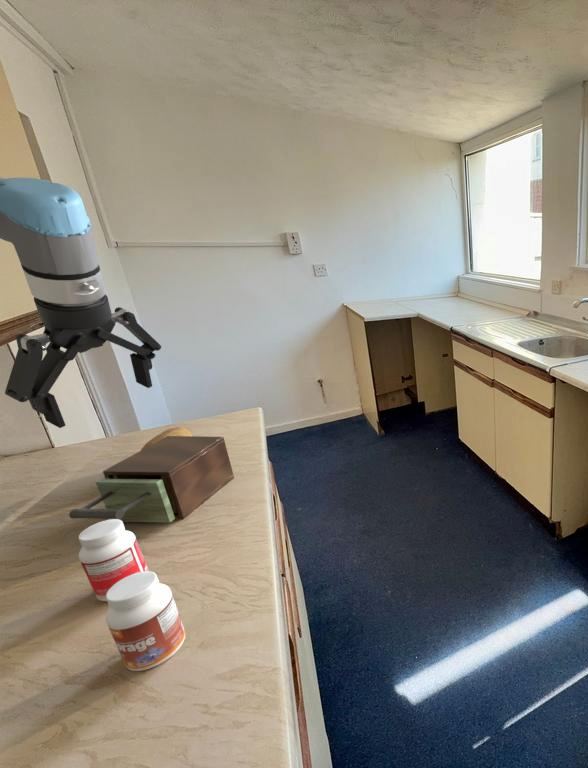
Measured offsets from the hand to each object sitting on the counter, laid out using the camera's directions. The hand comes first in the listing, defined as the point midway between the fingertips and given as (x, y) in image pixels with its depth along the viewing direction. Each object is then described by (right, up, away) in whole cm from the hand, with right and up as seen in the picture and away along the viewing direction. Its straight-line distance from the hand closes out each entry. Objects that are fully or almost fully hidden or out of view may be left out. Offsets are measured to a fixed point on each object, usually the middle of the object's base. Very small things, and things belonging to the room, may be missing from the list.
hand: (103, 402), depth 70 cm
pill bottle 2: (+25, -32, -17) cm, 45 cm away
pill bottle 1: (+11, -29, -8) cm, 32 cm away
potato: (-11, -16, +27) cm, 34 cm away
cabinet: (+2, -21, +14) cm, 25 cm away
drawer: (+2, -22, +8) cm, 24 cm away
